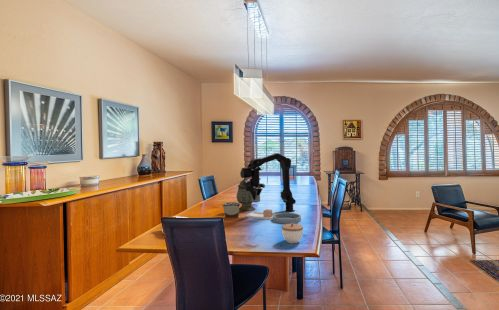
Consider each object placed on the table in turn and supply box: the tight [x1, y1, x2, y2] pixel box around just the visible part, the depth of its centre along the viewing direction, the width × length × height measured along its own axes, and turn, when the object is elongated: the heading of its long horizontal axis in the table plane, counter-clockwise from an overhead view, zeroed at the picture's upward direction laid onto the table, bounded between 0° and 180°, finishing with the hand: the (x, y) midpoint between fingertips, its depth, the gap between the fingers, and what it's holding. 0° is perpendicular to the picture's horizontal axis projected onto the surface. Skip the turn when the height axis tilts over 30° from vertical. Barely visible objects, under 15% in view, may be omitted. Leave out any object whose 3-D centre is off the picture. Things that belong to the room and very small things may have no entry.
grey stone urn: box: [236, 178, 257, 212], centre depth 233 cm, size 14×14×25 cm
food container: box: [222, 201, 241, 219], centre depth 211 cm, size 12×6×10 cm, turn 84°
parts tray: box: [244, 211, 277, 221], centre depth 210 cm, size 13×19×2 cm
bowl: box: [272, 212, 302, 224], centre depth 198 cm, size 18×18×3 cm
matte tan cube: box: [263, 209, 273, 218], centre depth 208 cm, size 4×4×4 cm
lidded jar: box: [281, 223, 304, 244], centre depth 155 cm, size 11×11×9 cm
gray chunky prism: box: [251, 194, 261, 203], centre depth 212 cm, size 4×4×4 cm
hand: (255, 199), depth 212 cm, fingers closed on gray chunky prism, 4 cm apart
